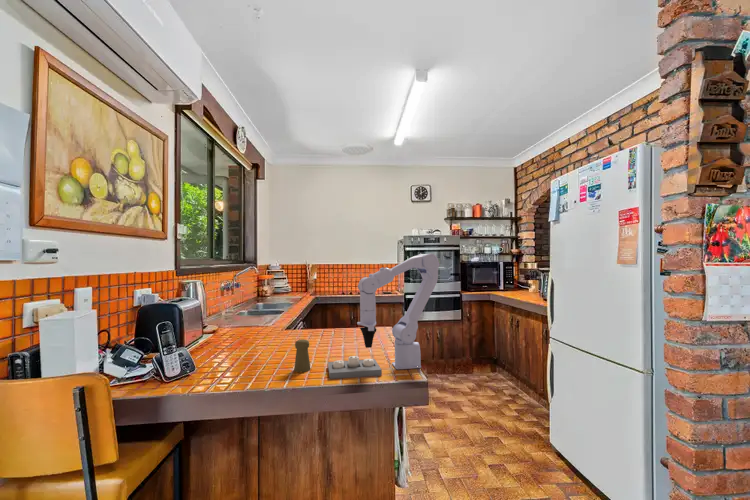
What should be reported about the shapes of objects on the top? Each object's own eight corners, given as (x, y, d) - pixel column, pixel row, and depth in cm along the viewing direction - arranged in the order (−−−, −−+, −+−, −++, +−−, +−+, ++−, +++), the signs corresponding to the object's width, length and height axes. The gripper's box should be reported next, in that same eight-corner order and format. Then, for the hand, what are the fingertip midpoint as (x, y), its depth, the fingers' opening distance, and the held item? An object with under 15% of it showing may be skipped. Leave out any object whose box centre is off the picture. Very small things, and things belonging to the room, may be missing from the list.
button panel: (374, 364, 143) (374, 359, 143) (381, 375, 129) (381, 369, 129) (328, 367, 139) (327, 361, 139) (329, 378, 126) (329, 373, 126)
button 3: (343, 368, 135) (343, 359, 135) (344, 371, 132) (344, 362, 132) (333, 369, 135) (332, 360, 135) (333, 372, 131) (333, 363, 131)
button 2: (358, 363, 136) (358, 355, 136) (359, 366, 133) (359, 358, 133) (348, 364, 136) (347, 356, 136) (349, 367, 132) (348, 358, 132)
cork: (312, 367, 140) (312, 338, 140) (308, 372, 134) (307, 341, 134) (296, 367, 140) (296, 338, 140) (291, 372, 134) (291, 341, 134)
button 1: (372, 366, 137) (372, 358, 137) (374, 369, 133) (374, 360, 134) (362, 367, 137) (362, 358, 137) (364, 370, 133) (364, 361, 133)
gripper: (354, 307, 142) (355, 343, 142) (359, 313, 128) (360, 352, 127) (372, 307, 143) (373, 342, 143) (379, 312, 129) (380, 351, 129)
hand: (368, 347), depth 135 cm, fingers closed
